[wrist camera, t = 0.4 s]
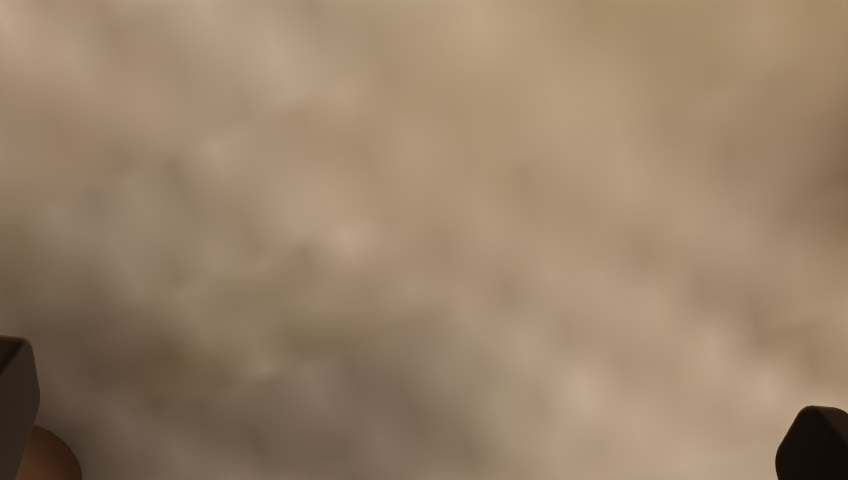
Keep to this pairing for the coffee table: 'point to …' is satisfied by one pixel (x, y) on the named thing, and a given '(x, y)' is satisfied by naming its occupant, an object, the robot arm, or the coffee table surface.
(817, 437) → the robot arm
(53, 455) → the short walnut stub
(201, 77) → the coffee table surface
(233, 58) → the coffee table surface
